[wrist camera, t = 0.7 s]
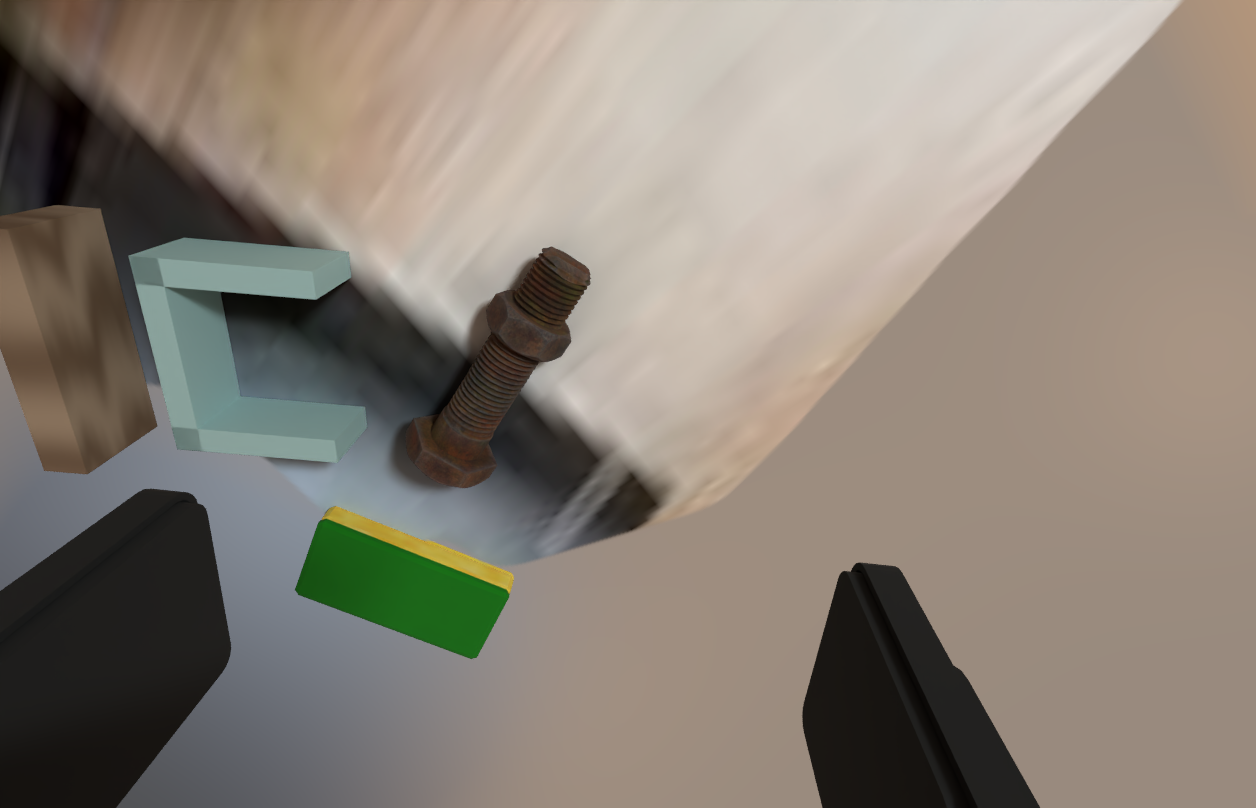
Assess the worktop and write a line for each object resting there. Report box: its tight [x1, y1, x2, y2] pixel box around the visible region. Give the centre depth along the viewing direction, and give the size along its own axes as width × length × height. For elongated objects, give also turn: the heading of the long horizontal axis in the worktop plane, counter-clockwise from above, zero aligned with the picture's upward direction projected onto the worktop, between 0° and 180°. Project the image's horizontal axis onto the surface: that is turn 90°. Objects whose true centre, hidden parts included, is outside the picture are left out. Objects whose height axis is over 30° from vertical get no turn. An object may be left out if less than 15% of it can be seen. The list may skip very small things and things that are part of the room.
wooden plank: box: [0, 205, 157, 474], centre depth 38 cm, size 14×2×6 cm, turn 176°
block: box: [129, 238, 367, 463], centre depth 39 cm, size 12×10×4 cm
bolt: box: [406, 247, 591, 488], centre depth 39 cm, size 6×5×15 cm
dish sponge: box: [295, 506, 514, 659], centre depth 48 cm, size 7×14×2 cm, turn 64°
